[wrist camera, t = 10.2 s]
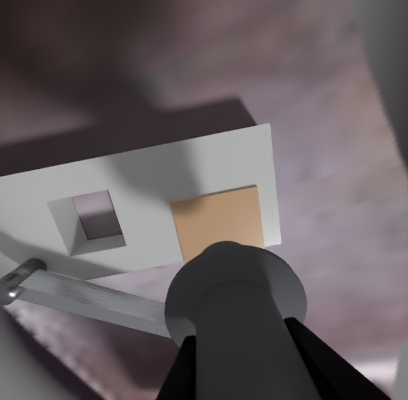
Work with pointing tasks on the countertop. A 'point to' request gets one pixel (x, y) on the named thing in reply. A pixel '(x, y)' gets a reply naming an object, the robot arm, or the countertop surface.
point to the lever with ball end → (81, 298)
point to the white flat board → (144, 205)
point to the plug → (240, 324)
